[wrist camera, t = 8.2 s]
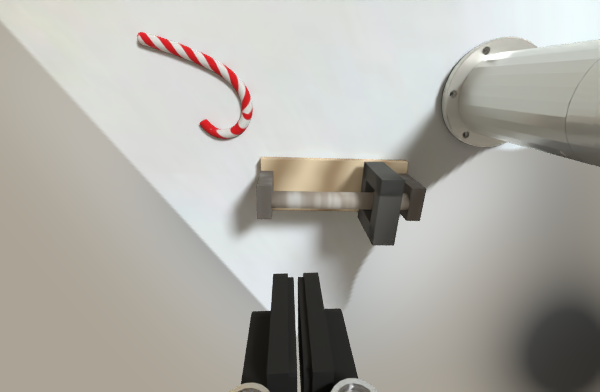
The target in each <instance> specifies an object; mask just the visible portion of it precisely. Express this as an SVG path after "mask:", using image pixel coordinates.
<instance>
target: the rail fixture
mask: <svg viewBox="0 0 600 392" xmlns="http://www.w3.org/2000/svg"><path fill="white" fill-rule="evenodd" d="M364 162H384V163H385V164H386V165H387V166H389V167H390V168H391V169H392V170H394V171H395V172H396V173H397V174H398V175H400V176H401V177H402V178H403V179H404V180H405V186H404V191H403V197H402V203H401V208H400V214H401V215H402V216H403V217H404V218H405V220H407V221H420V217H421V212H422V207H423V202H424V198H425V193H426V188H425V187H423V186H422V185H421V184H419V183H418V182H417V181H415V180H414V179H413V178H411V177H410V176H409V175H408V174H406V173H407V168H408V162H407V161H405V160H374V159H331V158H288V157H261V172H260V176H259V179H258V183H257V219H271V218H272V210H305V211H358V210H359V209H365V210H372V207H373V200H374V193H375V192H372V193H369V192H361V185H362V177H363V168H364Z"/></svg>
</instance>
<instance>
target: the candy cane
mask: <svg viewBox="0 0 600 392" xmlns="http://www.w3.org/2000/svg"><path fill="white" fill-rule="evenodd" d="M137 40H138V42H139V43H140V44H142V45H145V46H148V47H151V48H155V49H158V50H161V51H165V52H168V53H171V54H173V55H176V56H179V57H182V58H184V59H187V60H189V61H192V62H194V63H196V64H199V65H201V66H203V67H205V68H207V69H209V70H211V71H213V72H215V73H217V74H218V75H220V76H221V77H223V78H224V79H226V80H227V81H228V82H229V83H230V84H231V85H232V86H233V87H234V88H235V90H236V91H237V93H238V95H239V97H240V99H241V104H242V113H241V117H240V119H239V121H238V122H237V124H236V125H235V126H233V127H231V128H229V129H218V128H216V127H214V126H213V125H212V124H211V123H210V122H209V121H208V120H203V121H202V122H200V125H201V127H202V128H203V129H204V130H205V131H206V132H208V133H209V134H210V135H212V136H214V137H217V138H222V139H227V138H232V137H236V136H238V135H240V134H241V133H243V132H244V131H245V129H246V128H247V127H248V125H249V123H250V120H251V117H252V100H251V96H250V94H249V91H248V89H247V88H246V86H245V84H244V83H243V82H242V80H241V79H240V78H239V77H238V76H237V75H236V74H235V73H234V72H233V71H231V70H230V69H229V68H228V67H226V66H225V65H223V64H222V63H220V62H219V61H217V60H215V59H213V58H211V57H209V56H207V55H205V54H203V53H201V52H198V51H196V50H194V49H191V48H189V47H186V46H184V45H181V44H179V43H176V42H173V41H170V40H167V39H164V38H161V37H158V36H155V35H151V34H148V33H143V32H140V33H138V35H137Z"/></svg>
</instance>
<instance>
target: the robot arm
mask: <svg viewBox="0 0 600 392" xmlns="http://www.w3.org/2000/svg"><path fill="white" fill-rule="evenodd" d="M482 51H483V53H482ZM450 92H451V95H450ZM442 112H443V117H444V120H445V123H446V126H447V127H448V129H449V131H450V132H451V133H452V134H453V135H454V136H455V137H456V138H457V139H459V140H460V141H462V142H464V143H466V144H469V145H472V146H476V147H493V146H498V145H501V144H504V143H506V142H509V143H513V144H517V145H520V146H524V147H528V148H531V149H535V150H539V151H543V152H547V153H550V154H553V155H557V156H561V157H564V158H568V159H572V160H575V161H580V162H583V163H587V164H590V165H595V166H599V167H600V39H598V40H590V41H583V42H575V43H568V44H561V45H553V46H546V47H537V46H536V45H534V44H533V43H532V42H530V41H528V40H525V39H523V38H518V37H502V38H497V39H492V40H490V41H487V42H484V43H482V44H480V45H479V46H477V47H475V48H474V49H472V50H471V51H470V52H468V53H467V54H466V55H465V56H464V57H463V58H462V59H461V60H460V61H459V62H458V64H457V65H456V66H455V68H454V69H453V71H452V72H451V74H450V76H449V78H448V80H447V83H446V85H445V89H444V93H443V98H442ZM463 133H464V134H463ZM298 339H299V340H298V341H299V360H300V361H299V362H300V380H301V381H300V382H301V392H378V391H377V390H376V389H375V388H374V387H373V386H372V385H371V384H369V383H367V382H365V381H363V380H360V379H358V376H357V372H356V368H355V364H354V360H353V355H352V351H351V348H350V344H349V339H348V335H347V331H346V327H345V323H344V318H343V314H342V311H341V309H324V306H323V300H322V294H321V288H320V282H319V276H318V273H303V277H298ZM230 392H297V357H296V331H295V304H294V278H293V277H288V274H273V287H272V302H271V311H258V312H256V311H255V312H252V315H251V321H250V328H249V334H248V341H247V348H246V354H245V361H244V368H243V375H242V381H241V385H239V386H237V387H235V388H234V389H232V390H231V391H230Z"/></svg>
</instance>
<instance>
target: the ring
mask: <svg viewBox="0 0 600 392" xmlns="http://www.w3.org/2000/svg"><path fill="white" fill-rule="evenodd" d="M404 186H405V180H404V179H403V178H402V177H401V176H400V175H398V174H397V173H396V172H395V171H394V170H392V169H391V168H390V167H389V166H387V165H386V164H385V163H384V162H364V168H363V177H362V185H361V192H369V193H372V192H375V193H374V200H373V207H372V210H365V209H359V210H358V218H359V220H360V222H361V224H362V226H363V228H364V230H365V232H366V234H367V235H368V237H369V239H370V241H371V243H372V245H394V242H395V237H396V231H397V225H398V220H399V214H400V208H401V203H402V197H403V191H404Z"/></svg>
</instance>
